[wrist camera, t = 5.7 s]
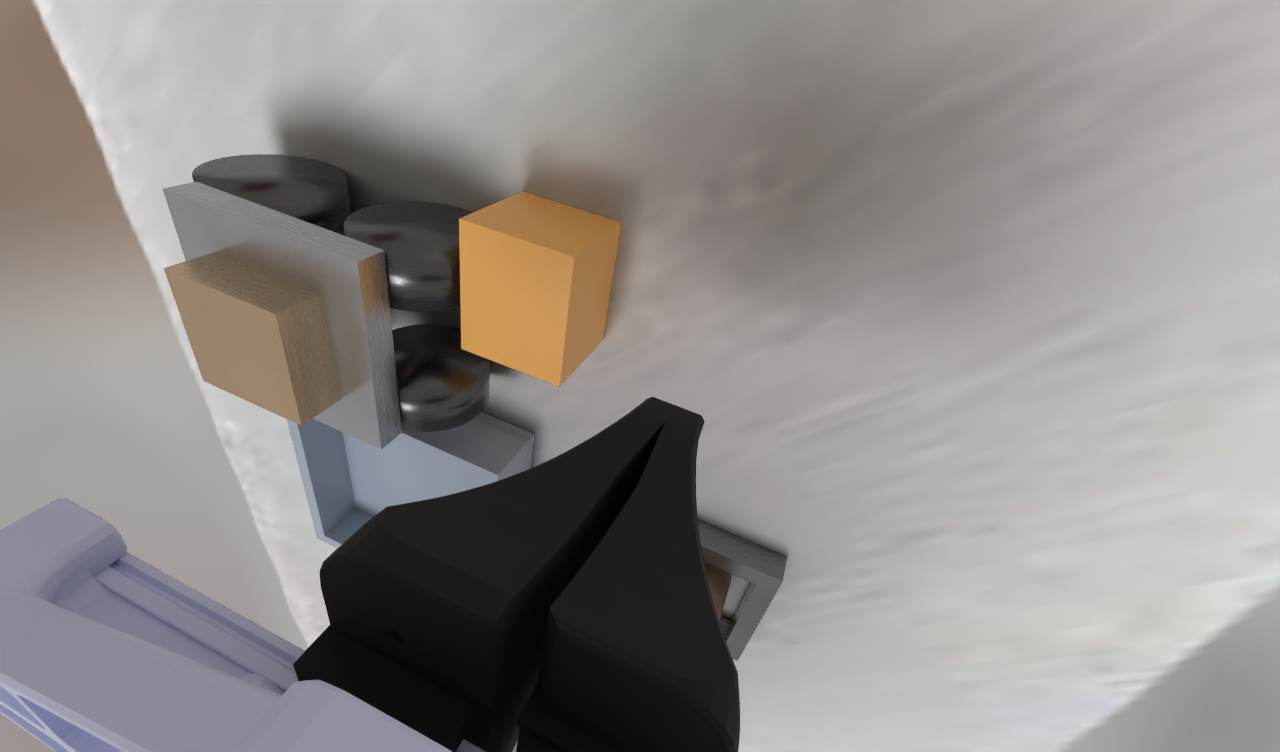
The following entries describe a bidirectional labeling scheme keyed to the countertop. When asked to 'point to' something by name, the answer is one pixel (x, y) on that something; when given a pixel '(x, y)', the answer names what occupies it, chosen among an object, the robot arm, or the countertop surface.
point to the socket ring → (750, 566)
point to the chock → (535, 284)
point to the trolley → (322, 298)
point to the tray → (400, 468)
